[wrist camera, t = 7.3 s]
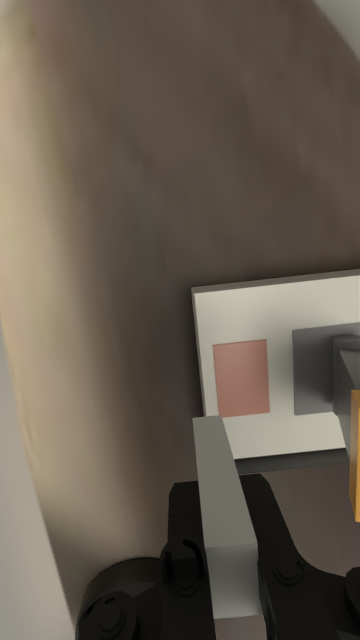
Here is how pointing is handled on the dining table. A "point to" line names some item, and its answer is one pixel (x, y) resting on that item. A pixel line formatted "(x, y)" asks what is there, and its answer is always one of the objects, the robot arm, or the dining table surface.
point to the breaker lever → (349, 406)
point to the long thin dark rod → (291, 460)
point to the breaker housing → (274, 358)
